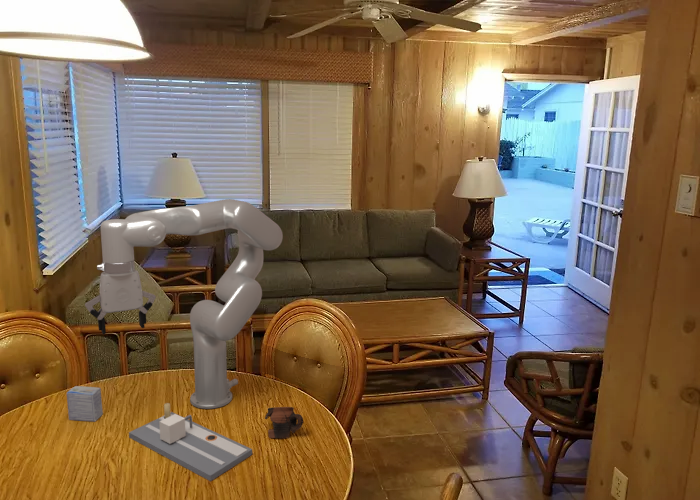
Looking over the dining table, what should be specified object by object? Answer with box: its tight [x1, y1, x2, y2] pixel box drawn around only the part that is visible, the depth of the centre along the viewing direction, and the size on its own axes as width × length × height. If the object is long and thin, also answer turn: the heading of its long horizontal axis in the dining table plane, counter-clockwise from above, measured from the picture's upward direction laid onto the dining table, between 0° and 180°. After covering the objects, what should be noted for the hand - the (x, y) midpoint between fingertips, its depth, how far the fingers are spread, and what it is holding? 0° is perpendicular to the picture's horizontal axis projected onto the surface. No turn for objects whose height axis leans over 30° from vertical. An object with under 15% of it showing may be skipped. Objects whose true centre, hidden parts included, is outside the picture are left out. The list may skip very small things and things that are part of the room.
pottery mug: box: [264, 406, 304, 439], centre depth 155 cm, size 12×10×8 cm
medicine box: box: [66, 385, 104, 422], centre depth 158 cm, size 8×4×9 cm, turn 84°
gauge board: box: [128, 402, 253, 482], centre depth 146 cm, size 14×32×6 cm, turn 56°
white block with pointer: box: [159, 413, 193, 444], centre depth 148 cm, size 9×4×5 cm, turn 146°
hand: (123, 329), depth 148 cm, fingers open, 9 cm apart
